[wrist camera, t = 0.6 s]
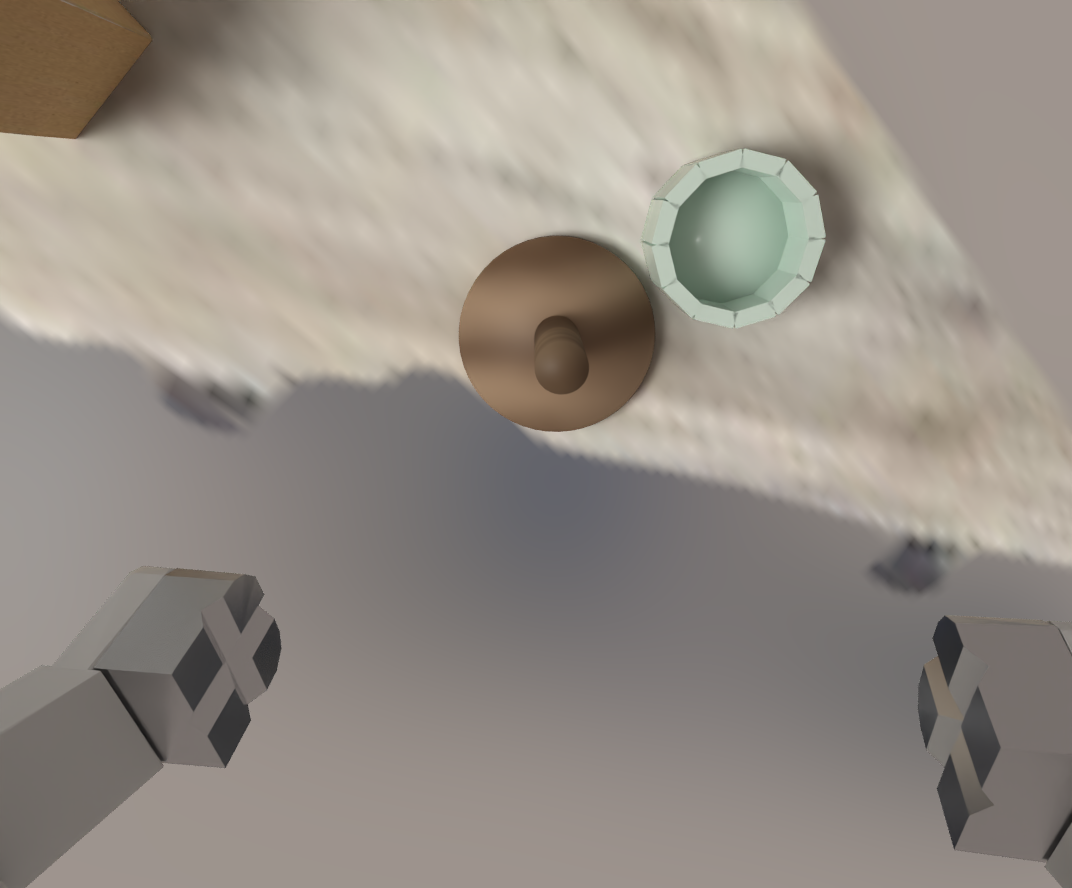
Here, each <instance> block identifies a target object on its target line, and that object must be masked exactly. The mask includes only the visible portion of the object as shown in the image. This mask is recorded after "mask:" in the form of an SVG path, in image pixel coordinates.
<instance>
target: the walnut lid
mask: <svg viewBox="0 0 1072 888" xmlns="http://www.w3.org/2000/svg"><path fill="white" fill-rule="evenodd" d="M654 342H655V324H654V317H653V312H652V308H651V305H650V301H649V298H648V296H647V294H646V292H645V290H644V288H643V286H642V284H641V283H640V281H639V280H638V278H637V277H636V275H635V274H634V273H633V271H632V270H631V269H630V268H629V267H628V266H627V265H626V264H625V263H624V262H623V261H622V260H620V259H619V258H618V257H617V256H616V255H614V254H613V253H611V252H610V251H608V250H607V249H605V248H603V247H601V246H599V245H597V244H595V243H593V242H590V241H587V240H583V239H580V238H575V237H569V236H547V237H539V238H535V239H531V240H527V241H525V242H522V243H520V244H517V245H515V246H513V247H511V248H510V249H508V250H506V251H504V252H503V253H502V254H500V255H499V256H498V257H496V258H495V259H494V260H493V261H492V262H491V263H490V264H489V265H488V266H487V267H486V268H485V269H484V270H483V271H482V272H481V274H480V275H479V276H478V278H477V279H476V280H475V282H474V284H473V286H472V287H471V289H470V291H469V293H468V295H467V298H466V300H465V302H464V305H463V309H462V313H461V317H460V325H459V346H460V353H461V357H462V361H463V365H464V368H465V370H466V373H467V375H468V377H469V379H470V381H471V383H472V384H473V386H474V388H475V389H476V391H477V392H478V393H479V395H480V396H481V397H482V398H483V400H484V401H485V402H486V403H487V404H488V405H489V406H490V407H491V408H493V409H494V410H495V411H497V412H498V413H499V414H501V415H502V416H504V417H505V418H507V419H509V420H511V421H512V422H515V423H517V424H519V425H522V426H525V427H528V428H532V429H535V430H542V431H553V432H561V431H571V430H576V429H580V428H584V427H587V426H590V425H593V424H595V423H597V422H599V421H601V420H603V419H605V418H607V417H609V416H610V415H611V414H613V413H614V412H616V411H617V410H618V409H620V408H621V407H622V406H623V405H624V404H625V403H626V402H627V401H628V400H629V399H630V398H631V397H632V395H633V394H634V393H635V392H636V390H637V389H638V387H639V386H640V384H641V383H642V381H643V379H644V377H645V375H646V373H647V371H648V368H649V365H650V362H651V359H652V355H653V350H654Z"/></svg>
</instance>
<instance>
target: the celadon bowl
mask: <svg viewBox="0 0 1072 888" xmlns="http://www.w3.org/2000/svg"><path fill="white" fill-rule="evenodd" d="M816 192H817V191H816V190H815V189H814V188H813V187H812V186H811V185H810V183H809V182H808V181H807V180H806V179H805V178H804V177H803V176H802V175H801V174H800V172H799V171H798V170H797V169H796V168H795V167H794V166H793V165H792V164H791V163H790V161H786V159H784V158H780V157H776V156H772V155H768V154H764V153H760V152H757V151H753V150H749V149H745V148H744V149H737V150H733V151H728V152H723V153H720V154H717V155H714V156H710V157H707V158H704V159H701V160H698V161H695V162H692V163H689V164H686V165H684V166H682V167H681V168H680V169H679V170H678V171H677V172H676V173H675V174H674V175H673V176H672V177H671V178H670V179H669V180H668V182H667V183H666V184H665V185H664V186H663V187H662V188H661V189H660V190H659V191H658V192H657V193H656V194H655V196H654V197H653V198H654V199H655V200H651V204H650V208H649V211H648V215H647V219H646V223H645V227H644V230H643V234H642V238H641V239H642V240H644V241H642V242H641V243H642V247H643V251H644V255H645V259H646V263H647V267H648V271H649V275H650V279H651V280H652V282H653V283H654V284H655V285H656V286H657V287H658V288H659V289H660V290H661V291H662V292H663V293H664V294H665V295H666V296H667V297H668V298H669V299H670V300H671V301H672V302H673V303H674V304H675V305H676V306H677V307H678V308H679V309H681V310H682V311H683V312H684V313H686V314H687V315H688V316H689V317H691V318H693V319H694V320H698V321H703V322H707V323H711V324H716V325H720V326H724V327H728V328H733V327H734V328H739V327H743V326H746V325H749V324H753V323H756V322H759V321H763V320H766V319H769V318H773V317H776V314H778V315H779V314H780V313H781V312H782V311H783V310H784V309H785V308H786V307H787V306H788V305H789V304H790V303H791V302H792V301H793V300H794V299H795V298H797V297H798V296H799V295H800V294H801V293H802V292H803V291H804V290H805V289H806V288H807V287H808V286H809V285H810V284H809V283H808V282H807V281H810V282H812V279H813V276H814V273H815V270H816V267H817V264H818V261H819V258H820V255H821V252H822V249H823V247H824V244H825V241H826V240H823V239H821V238H825V237H826V235H825V229H824V223H823V218H822V212H821V207H820V201H819V195H818V194H815V193H816ZM775 313H776V314H775Z"/></svg>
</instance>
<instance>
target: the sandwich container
mask: <svg viewBox="0 0 1072 888" xmlns="http://www.w3.org/2000/svg"><path fill="white" fill-rule="evenodd" d="M151 41H152V38H151V36H150V34H149V33H148V32H147V31H146V30H145V29H144V28H143V27H142V26H141V25H140V24H139V23H138V22H137V21H136V20H135V19H134V18H133V17H132V16H131V15H130V14H129V12H128V11H127V10H126V9H125V8H124V7H123V6H122V5H121V4H120V3H119V2H118V1H117V0H0V132H3V133H12V134H22V135H32V136H44V137H57V138H69V139H76V138H77V136H78V135H79V134H80V133H81V131H82V130H83V129H84V127H85V126H86V125H87V124H88V122H89V121H90V120H91V118H92V117H93V116H94V115H95V113H96V112H97V111H98V109H99V108H100V107H101V106H102V104H103V103H104V102H105V101H106V99H107V98H108V97H109V95H110V94H111V93H112V92H113V90H114V89H115V88H116V86H117V85H118V84H119V83H120V81H121V80H122V79H123V77H124V76H125V75H126V73H127V72H128V71H129V70H130V68H131V67H132V66H133V64H134V63H135V62H136V60H137V59H138V58H139V57H140V55H141V54H142V53H143V51H144V50H145V49H146V48H147V46H148V45H149V44H150V42H151Z"/></svg>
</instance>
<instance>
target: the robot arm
mask: <svg viewBox="0 0 1072 888" xmlns="http://www.w3.org/2000/svg"><path fill="white" fill-rule="evenodd" d="M263 596H264V593H263V591H262V589H261V587H260V585H259V583H258V581H257V579H256V577H255V576H250V575H246V574H236V573H225V572H214V571H203V570H192V569H180V568H176V569H175V568H162V567H150V566H142V567H140V568H138V569H136V570H134V571H132V572H130V573H129V574H128V575H127V576H126V578H125V579H124V580H123V581H122V583H121V584H120V585H119V586H118V587H117V588H116V590H115V591H114V592H113V593H112V594H111V596H110V597H109V598H108V599H107V601H106V602H105V603H104V604H103V605H102V606H101V608H100V609H99V610H98V611H97V612H96V614H95V615H94V616H93V617H92V618H91V620H90V621H89V622H88V623H87V624H86V626H85V627H84V628H83V629H82V630H81V632H80V633H79V634H78V635H77V637H76V638H75V639H74V640H73V641H72V642H71V644H70V645H69V646H68V647H67V648H66V650H65V651H64V652H63V653H62V654H61V656H60V657H59V658H58V659H57V661H56V662H55V663H54V664H53V665H52V666H42V665H41V666H39V667H37V668H36V669H34V670H32V671H31V672H29V673H27V674H25V675H24V676H22V677H20V678H19V679H17V680H15V681H13V682H12V683H10V684H9V685H7V686H5V687H3V688H1V689H0V888H25V887H27V886H28V885H29V884H30V883H31V882H32V881H33V880H35V878H37V877H38V876H39V875H40V874H41V873H43V872H44V871H45V870H46V869H47V868H48V867H49V866H51V865H52V864H53V863H54V862H55V861H56V860H57V859H59V858H60V857H61V856H62V855H63V854H64V853H66V852H67V851H68V850H69V849H70V848H71V847H72V846H74V845H75V844H76V843H77V842H78V841H79V840H80V839H82V838H83V837H84V836H85V835H86V834H87V833H88V832H90V831H91V830H92V829H93V828H94V827H95V826H96V825H98V824H99V823H100V822H101V821H102V820H103V819H104V818H105V817H107V816H108V815H109V814H110V813H111V812H112V811H114V810H115V809H116V808H117V807H118V806H119V805H120V804H122V803H123V802H124V801H125V800H126V799H127V798H128V797H129V796H131V795H132V794H133V793H134V792H135V791H137V790H138V789H139V788H140V787H141V786H142V785H143V784H144V783H146V782H147V781H148V780H149V779H150V778H151V777H153V776H154V775H155V774H156V773H157V772H158V771H159V770H160V769H162V768H163V764H162V763H171V764H183V765H195V766H207V767H219V768H226V766H227V764H228V762H229V761H230V759H231V757H232V755H233V753H234V751H235V749H236V747H237V746H238V743H239V742H240V740H241V738H242V736H243V734H244V732H245V731H246V729H247V727H248V725H249V723H250V721H251V718H250V713H249V708H248V704H249V703H250V702H252V701H253V700H254V699H256V698H257V697H258V696H259V695H261V694H262V693H264V692H265V691H266V690H267V689H268V687H269V685H270V683H271V681H272V679H273V677H274V675H275V673H276V671H277V667H278V662H279V657H280V653H281V639H280V631H279V629H278V626H277V624H276V621H275V619H274V618H273V617H272V616H271V615H269V614H268V613H267V612H266V611H264V610H263V609H262V608H261V607H260V606H259V604H260V602H261V600H262V598H263ZM933 642H934V645H935V648H936V651H937V654H938V656H937V657H935V658H934V659H932V660H931V661H929V662H928V663H926V664H924V666H923V670H922V674H921V677H920V681H919V685H918V714H919V721H920V728H921V732H922V736H923V740H924V743H925V748H926V750H927V751H928V752H929V753H930V754H931V755H932V756H933V757H934V758H935V759H936V760H937V761H938V762H939V763H940V764H941V765H942V766H943V767H944V771H943V773H942V776H941V779H940V781H939V784H938V786H937V791H938V795H939V798H940V802H941V805H942V809H943V812H944V816H945V820H946V823H947V827H948V830H949V834H950V837H951V840H952V844H953V848H954V850H958V851H965V852H973V853H980V854H987V855H994V856H1002V857H1009V858H1017V859H1023V860H1031V861H1038V862H1046V865H1045V868H1046V869H1047V870H1048V871H1049V873H1050V874H1051V875H1052V876H1053V877H1054V878H1055V880H1056V881H1057V882H1058V883H1059V884H1060V885H1061V886H1062V888H1072V622H1061V621H1047V622H1045V621H1043V620H1030V619H1011V618H991V617H971V616H950V615H945V616H944V617H943V618H942V619H941V620H940V621H939V622H938V624H937V626H936V629H935V632H934V635H933Z"/></svg>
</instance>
